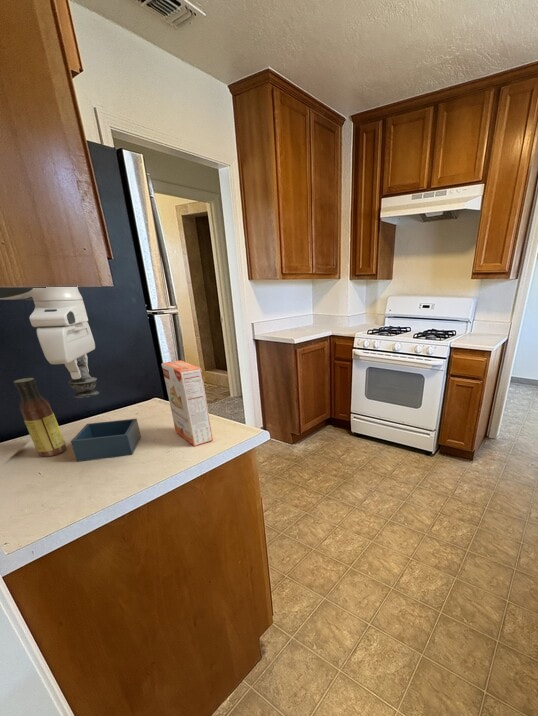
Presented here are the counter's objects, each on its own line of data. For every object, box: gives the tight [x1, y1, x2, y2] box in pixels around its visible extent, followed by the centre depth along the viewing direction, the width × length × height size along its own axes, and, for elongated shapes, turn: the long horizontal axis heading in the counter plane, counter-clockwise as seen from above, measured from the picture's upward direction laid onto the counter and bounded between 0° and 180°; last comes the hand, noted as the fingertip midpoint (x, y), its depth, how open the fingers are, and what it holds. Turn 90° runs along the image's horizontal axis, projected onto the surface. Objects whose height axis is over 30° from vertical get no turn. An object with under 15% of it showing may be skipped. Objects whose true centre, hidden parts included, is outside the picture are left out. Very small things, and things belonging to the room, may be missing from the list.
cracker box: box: [161, 359, 214, 447], centre depth 97 cm, size 14×6×21 cm, turn 41°
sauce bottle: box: [13, 377, 67, 457], centre depth 89 cm, size 6×6×20 cm
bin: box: [70, 418, 142, 463], centre depth 94 cm, size 13×13×6 cm
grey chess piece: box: [67, 356, 100, 399], centre depth 83 cm, size 6×6×12 cm
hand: (80, 376), depth 83 cm, fingers closed on grey chess piece, 3 cm apart
